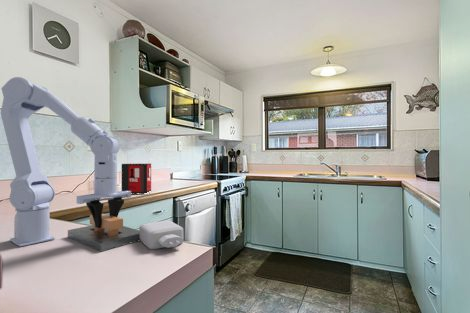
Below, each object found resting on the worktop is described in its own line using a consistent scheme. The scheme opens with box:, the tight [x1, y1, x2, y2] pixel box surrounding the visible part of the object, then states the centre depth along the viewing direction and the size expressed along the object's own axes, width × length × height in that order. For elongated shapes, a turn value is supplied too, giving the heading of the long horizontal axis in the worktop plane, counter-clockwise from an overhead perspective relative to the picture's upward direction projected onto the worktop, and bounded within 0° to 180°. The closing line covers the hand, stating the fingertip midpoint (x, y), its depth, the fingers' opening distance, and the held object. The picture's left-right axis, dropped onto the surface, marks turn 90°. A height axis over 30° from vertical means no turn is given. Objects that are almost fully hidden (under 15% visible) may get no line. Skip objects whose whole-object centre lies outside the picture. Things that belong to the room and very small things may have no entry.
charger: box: [138, 220, 185, 250], centre depth 67 cm, size 5×9×15 cm
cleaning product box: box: [121, 163, 152, 193], centre depth 173 cm, size 16×9×20 cm, turn 90°
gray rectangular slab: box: [67, 224, 141, 252], centre depth 73 cm, size 20×12×2 cm, turn 53°
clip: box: [89, 213, 124, 236], centre depth 73 cm, size 12×4×5 cm, turn 53°
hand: (105, 225), depth 73 cm, fingers closed on clip, 3 cm apart
